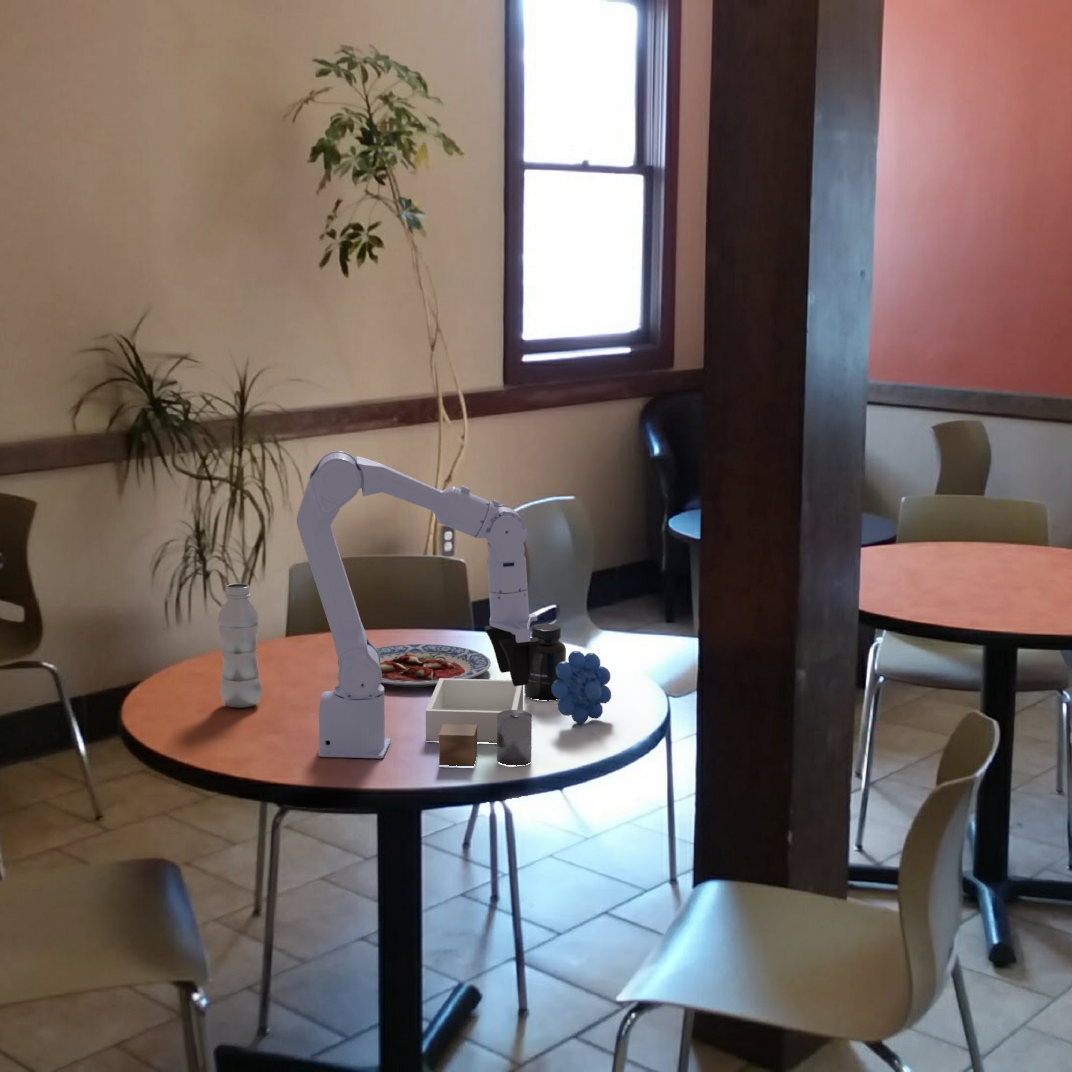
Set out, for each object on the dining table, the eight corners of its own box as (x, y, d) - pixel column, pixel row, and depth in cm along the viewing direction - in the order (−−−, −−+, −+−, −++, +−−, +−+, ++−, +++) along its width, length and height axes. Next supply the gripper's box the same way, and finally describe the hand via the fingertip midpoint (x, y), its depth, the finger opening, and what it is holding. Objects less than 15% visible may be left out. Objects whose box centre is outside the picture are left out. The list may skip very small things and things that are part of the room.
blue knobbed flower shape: (569, 737, 216) (570, 661, 214) (542, 725, 221) (543, 651, 219) (627, 723, 223) (628, 649, 221) (599, 713, 228) (601, 641, 226)
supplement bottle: (530, 703, 233) (531, 632, 231) (519, 691, 239) (520, 622, 237) (570, 700, 235) (571, 630, 233) (558, 689, 241) (559, 620, 239)
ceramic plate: (434, 704, 233) (434, 686, 232) (314, 680, 246) (314, 663, 245) (518, 668, 254) (518, 652, 254) (403, 648, 268) (403, 633, 267)
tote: (425, 742, 213) (425, 710, 212) (439, 707, 230) (439, 678, 229) (515, 745, 212) (516, 713, 211) (522, 710, 229) (523, 680, 228)
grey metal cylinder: (495, 766, 203) (495, 720, 201) (498, 755, 207) (498, 709, 206) (530, 767, 202) (530, 720, 201) (532, 756, 207) (532, 710, 206)
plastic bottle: (253, 713, 226) (249, 591, 222) (213, 710, 227) (209, 589, 224) (268, 701, 232) (265, 582, 229) (229, 698, 233) (226, 580, 230)
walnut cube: (439, 768, 202) (439, 734, 201) (443, 756, 207) (443, 723, 206) (474, 769, 202) (474, 735, 201) (477, 757, 207) (477, 724, 206)
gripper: (548, 596, 202) (553, 687, 204) (521, 576, 216) (526, 662, 218) (500, 601, 200) (506, 693, 202) (476, 581, 214) (482, 668, 216)
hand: (513, 678), depth 210 cm, fingers open, 7 cm apart
